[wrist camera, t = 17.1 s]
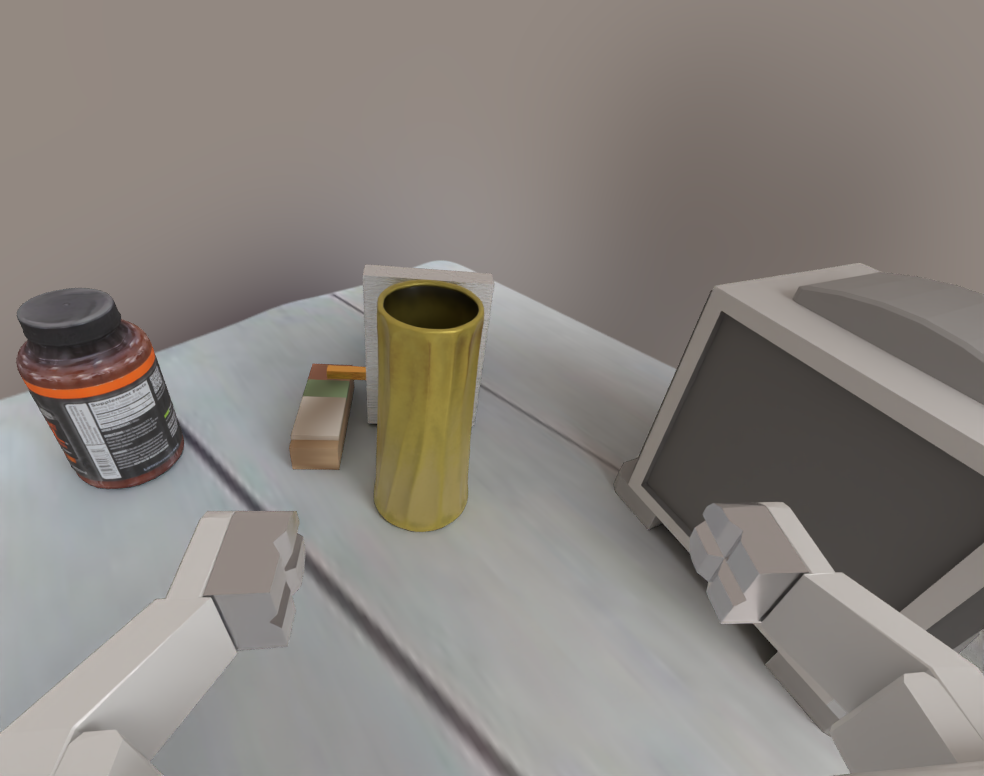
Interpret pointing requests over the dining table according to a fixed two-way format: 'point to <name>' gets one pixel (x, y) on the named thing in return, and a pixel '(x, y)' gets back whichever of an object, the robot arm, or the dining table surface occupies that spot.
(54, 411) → the supplement bottle
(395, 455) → the vase
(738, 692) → the dining table surface
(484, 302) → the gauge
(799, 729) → the dining table surface
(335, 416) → the rail
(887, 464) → the grey box
